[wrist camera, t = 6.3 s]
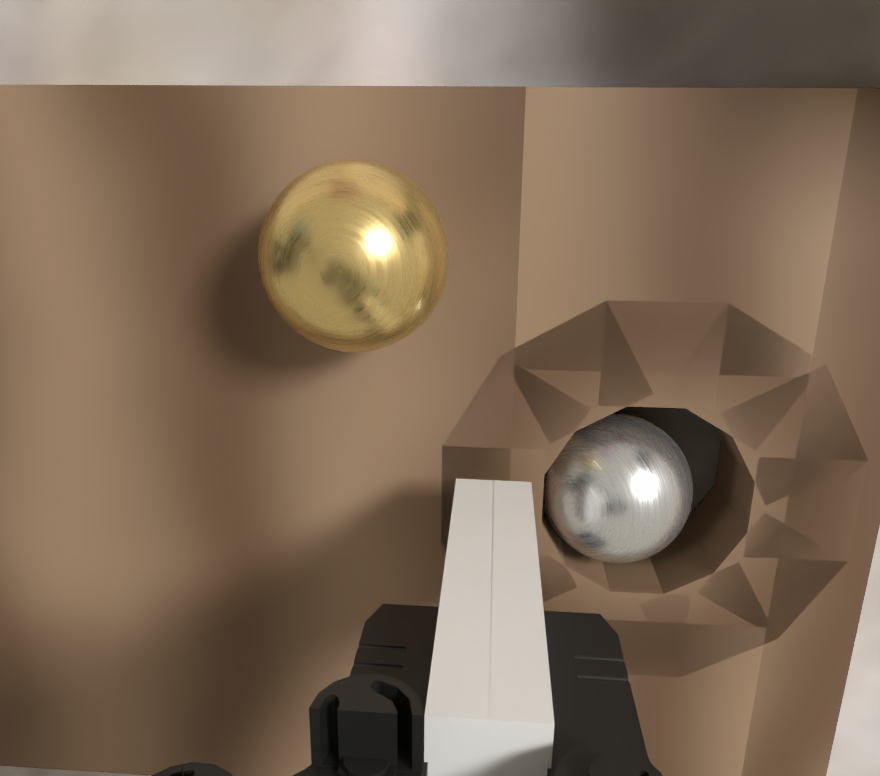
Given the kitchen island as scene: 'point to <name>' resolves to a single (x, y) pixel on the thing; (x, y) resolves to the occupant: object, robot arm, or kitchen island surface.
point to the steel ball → (619, 490)
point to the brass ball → (353, 255)
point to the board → (426, 404)
